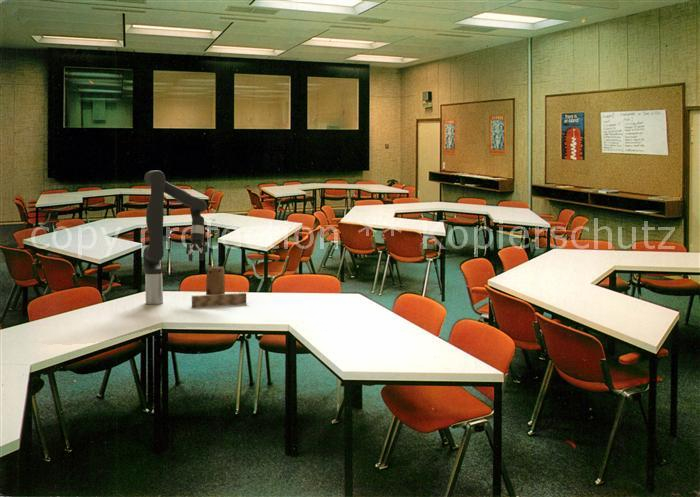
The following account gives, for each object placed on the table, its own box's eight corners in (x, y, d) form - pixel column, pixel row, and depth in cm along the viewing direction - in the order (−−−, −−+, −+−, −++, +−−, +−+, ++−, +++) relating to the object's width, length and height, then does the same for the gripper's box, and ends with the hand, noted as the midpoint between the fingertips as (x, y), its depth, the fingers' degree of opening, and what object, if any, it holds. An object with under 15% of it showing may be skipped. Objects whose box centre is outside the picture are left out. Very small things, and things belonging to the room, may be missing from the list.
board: (192, 307, 325) (192, 296, 324) (191, 306, 328) (191, 295, 327) (246, 303, 336) (246, 293, 335) (245, 302, 339) (245, 292, 338)
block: (225, 299, 349) (225, 266, 347) (224, 301, 342) (223, 267, 340) (207, 299, 348) (206, 266, 346) (205, 301, 341) (204, 267, 339)
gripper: (183, 233, 347) (182, 260, 343) (202, 231, 340) (201, 258, 337) (192, 236, 353) (191, 262, 350) (211, 233, 347) (209, 260, 343)
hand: (196, 260), depth 343 cm, fingers open, 8 cm apart
